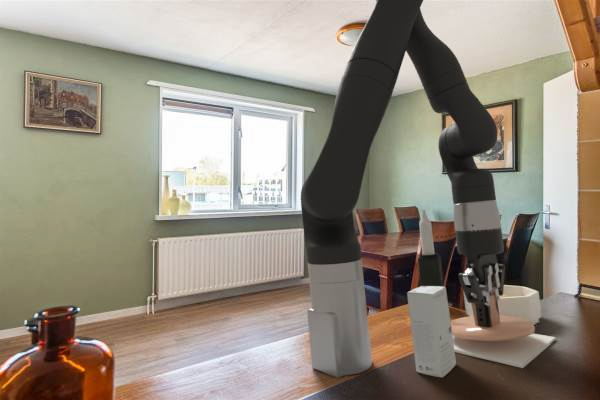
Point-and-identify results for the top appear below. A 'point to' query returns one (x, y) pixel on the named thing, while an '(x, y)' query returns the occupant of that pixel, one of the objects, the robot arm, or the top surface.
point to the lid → (498, 331)
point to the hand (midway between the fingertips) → (489, 323)
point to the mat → (505, 349)
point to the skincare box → (431, 330)
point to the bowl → (516, 303)
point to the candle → (428, 256)
